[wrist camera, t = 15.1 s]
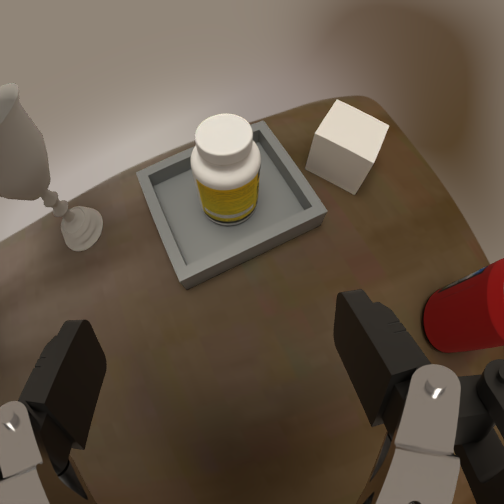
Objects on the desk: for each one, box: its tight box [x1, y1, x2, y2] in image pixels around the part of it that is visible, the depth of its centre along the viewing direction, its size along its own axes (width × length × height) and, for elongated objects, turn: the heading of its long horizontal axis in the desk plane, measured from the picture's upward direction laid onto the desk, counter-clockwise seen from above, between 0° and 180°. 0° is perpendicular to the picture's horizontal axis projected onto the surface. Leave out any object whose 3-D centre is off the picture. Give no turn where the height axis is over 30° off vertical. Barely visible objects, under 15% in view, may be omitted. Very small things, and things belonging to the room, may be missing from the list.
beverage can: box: [424, 258, 504, 353], centre depth 21 cm, size 7×7×12 cm
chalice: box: [0, 83, 103, 251], centre depth 20 cm, size 7×7×18 cm
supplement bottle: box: [191, 114, 261, 225], centre depth 24 cm, size 5×5×10 cm
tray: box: [136, 121, 327, 289], centre depth 29 cm, size 14×12×3 cm
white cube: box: [305, 100, 389, 195], centre depth 29 cm, size 6×6×6 cm
